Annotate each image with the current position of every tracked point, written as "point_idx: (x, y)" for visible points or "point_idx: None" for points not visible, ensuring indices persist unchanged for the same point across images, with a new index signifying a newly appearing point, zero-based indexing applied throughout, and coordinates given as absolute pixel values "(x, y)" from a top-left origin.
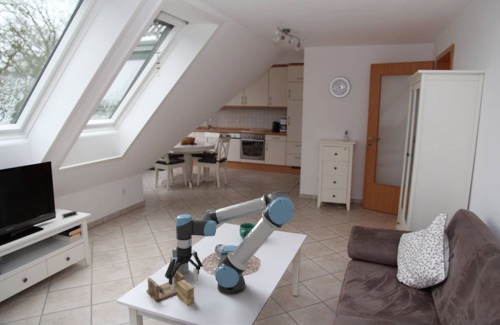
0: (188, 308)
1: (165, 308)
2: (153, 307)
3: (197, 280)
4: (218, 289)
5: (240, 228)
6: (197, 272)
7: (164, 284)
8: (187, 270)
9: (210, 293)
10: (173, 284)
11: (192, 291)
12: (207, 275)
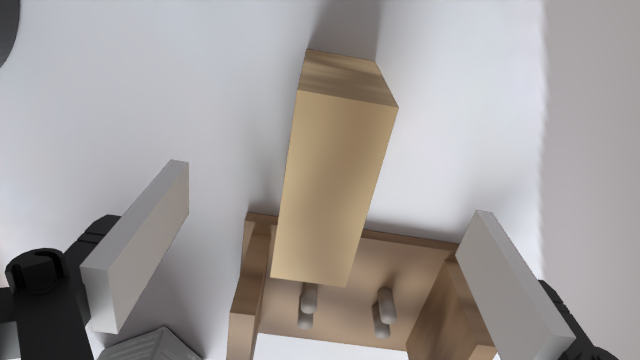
0: (404, 13)
1: (499, 155)
2: (527, 219)
3: (172, 167)
4: (15, 15)
5: None
6: (117, 234)
7: (317, 333)
8: (115, 347)
9: (115, 36)
10: (516, 261)
11: (319, 80)
12: (16, 238)
